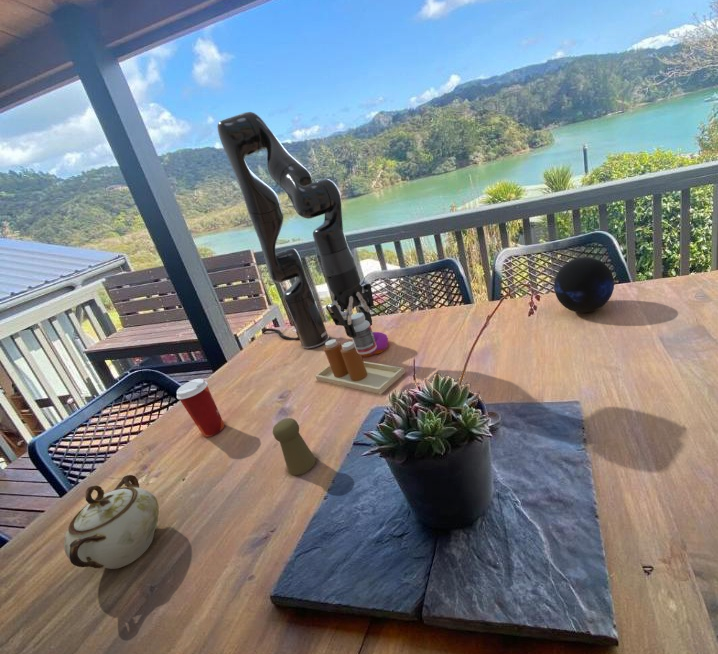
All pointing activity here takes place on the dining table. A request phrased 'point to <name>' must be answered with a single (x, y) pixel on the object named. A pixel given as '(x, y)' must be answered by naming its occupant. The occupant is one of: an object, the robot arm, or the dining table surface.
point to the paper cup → (201, 406)
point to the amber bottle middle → (353, 362)
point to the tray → (373, 382)
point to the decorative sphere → (584, 285)
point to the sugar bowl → (112, 526)
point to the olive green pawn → (293, 447)
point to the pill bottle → (363, 334)
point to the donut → (378, 343)
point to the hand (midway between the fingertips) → (360, 331)
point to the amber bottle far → (335, 358)
